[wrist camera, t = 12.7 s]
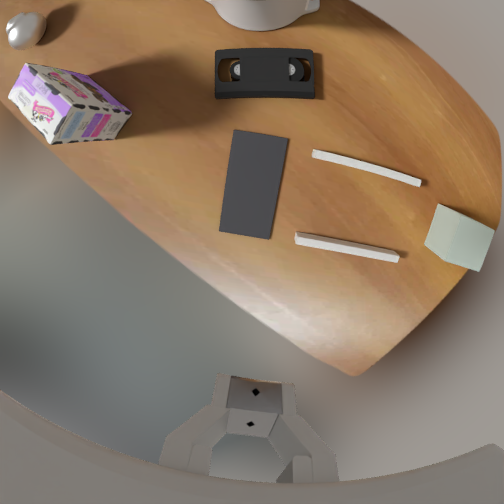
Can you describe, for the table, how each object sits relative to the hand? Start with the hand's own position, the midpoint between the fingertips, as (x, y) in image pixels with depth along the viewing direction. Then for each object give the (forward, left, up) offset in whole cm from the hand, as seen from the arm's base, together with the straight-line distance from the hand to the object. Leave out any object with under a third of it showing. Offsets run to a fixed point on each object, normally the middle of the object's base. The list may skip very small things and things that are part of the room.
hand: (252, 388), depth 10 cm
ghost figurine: (-32, -52, -35) cm, 71 cm away
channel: (-2, +9, -35) cm, 36 cm away
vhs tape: (-20, -3, -36) cm, 41 cm away
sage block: (-2, +35, -35) cm, 50 cm away
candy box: (-13, -30, -35) cm, 48 cm away
